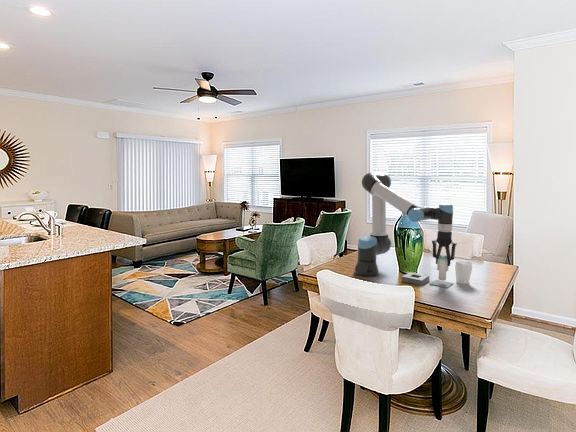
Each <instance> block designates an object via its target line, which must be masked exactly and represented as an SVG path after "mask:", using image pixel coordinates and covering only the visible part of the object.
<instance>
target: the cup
mask: <svg viewBox="0 0 576 432" xmlns="http://www.w3.org/2000/svg"><path fill="white" fill-rule="evenodd" d="M454 267H455V268H454V269H455V280H456V283H458V284H461V285H469V283H470V280H471V275H472V271H473V262H469V261H465V260H458V261H455V266H454Z"/></svg>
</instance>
